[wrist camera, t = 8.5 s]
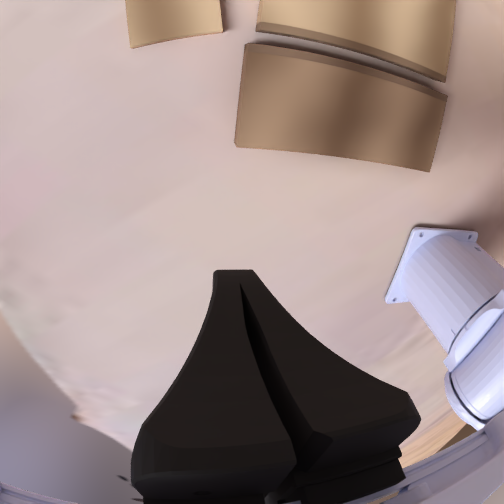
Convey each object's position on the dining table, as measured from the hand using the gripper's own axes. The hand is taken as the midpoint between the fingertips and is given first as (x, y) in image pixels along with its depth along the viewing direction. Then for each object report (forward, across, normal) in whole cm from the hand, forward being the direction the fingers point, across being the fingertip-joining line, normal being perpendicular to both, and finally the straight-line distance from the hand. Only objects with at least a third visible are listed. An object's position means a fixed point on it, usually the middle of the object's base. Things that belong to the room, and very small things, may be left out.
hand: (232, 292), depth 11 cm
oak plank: (+10, -8, -16) cm, 20 cm away
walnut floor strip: (+10, -8, -6) cm, 14 cm away
